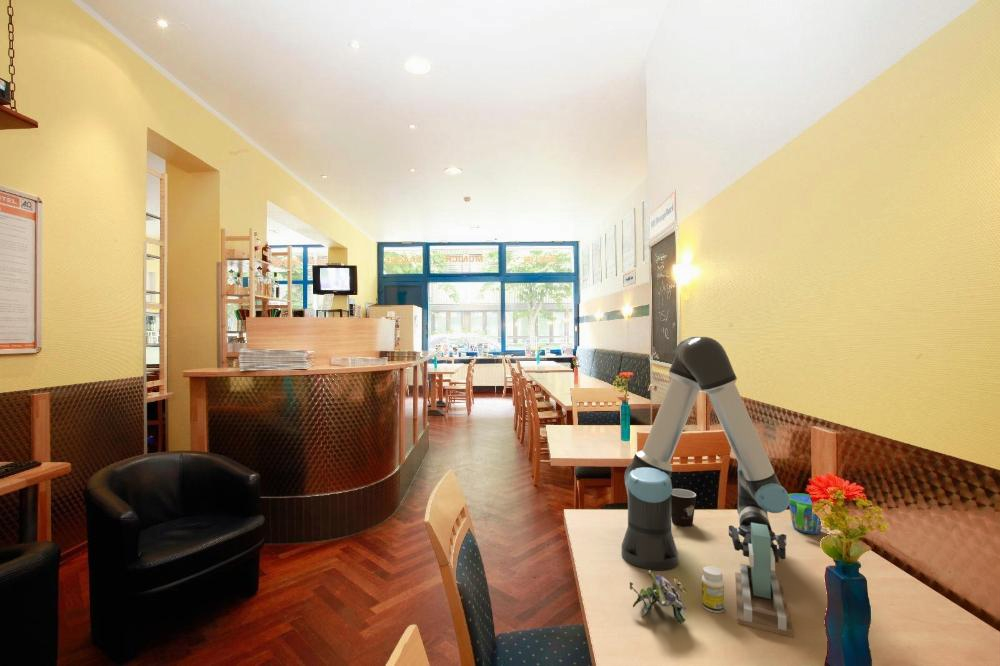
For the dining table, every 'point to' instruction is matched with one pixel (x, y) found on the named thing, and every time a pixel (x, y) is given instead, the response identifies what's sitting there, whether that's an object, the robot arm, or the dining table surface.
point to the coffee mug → (682, 507)
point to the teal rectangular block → (761, 561)
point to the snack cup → (803, 514)
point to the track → (761, 605)
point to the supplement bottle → (712, 589)
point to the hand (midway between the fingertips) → (762, 562)
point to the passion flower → (662, 596)
